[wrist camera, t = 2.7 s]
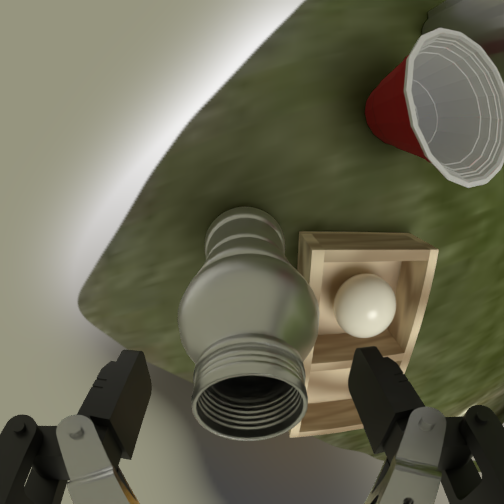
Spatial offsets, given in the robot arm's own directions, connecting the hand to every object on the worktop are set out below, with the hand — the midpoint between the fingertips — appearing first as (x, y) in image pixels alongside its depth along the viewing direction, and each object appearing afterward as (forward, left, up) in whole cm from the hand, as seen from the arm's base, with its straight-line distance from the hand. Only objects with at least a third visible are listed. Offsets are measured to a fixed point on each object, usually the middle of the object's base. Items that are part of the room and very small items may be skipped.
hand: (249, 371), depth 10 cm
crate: (+11, +11, -18) cm, 24 cm away
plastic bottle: (0, 0, -18) cm, 18 cm away
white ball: (+5, +11, -17) cm, 21 cm away
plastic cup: (-12, +14, -18) cm, 26 cm away
